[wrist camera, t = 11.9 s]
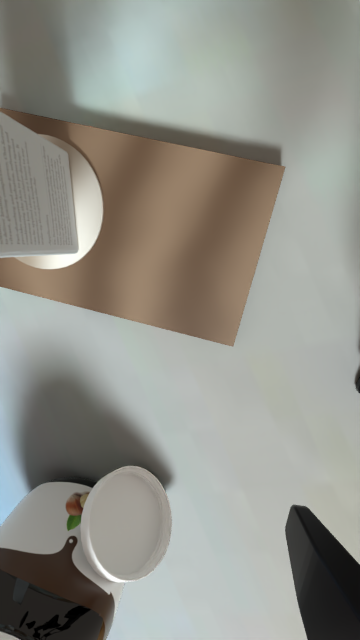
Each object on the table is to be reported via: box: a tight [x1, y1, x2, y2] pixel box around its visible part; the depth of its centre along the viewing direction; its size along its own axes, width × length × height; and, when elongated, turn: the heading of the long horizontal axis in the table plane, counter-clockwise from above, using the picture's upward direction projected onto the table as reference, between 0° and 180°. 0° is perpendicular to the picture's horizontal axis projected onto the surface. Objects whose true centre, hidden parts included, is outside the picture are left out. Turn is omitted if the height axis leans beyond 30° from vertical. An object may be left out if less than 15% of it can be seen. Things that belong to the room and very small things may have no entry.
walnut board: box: [0, 108, 285, 346], centre depth 19 cm, size 18×11×2 cm, turn 77°
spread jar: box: [0, 466, 172, 640], centre depth 20 cm, size 12×11×12 cm
